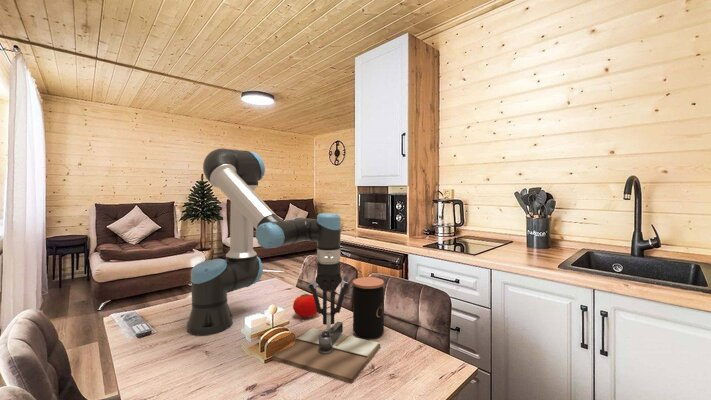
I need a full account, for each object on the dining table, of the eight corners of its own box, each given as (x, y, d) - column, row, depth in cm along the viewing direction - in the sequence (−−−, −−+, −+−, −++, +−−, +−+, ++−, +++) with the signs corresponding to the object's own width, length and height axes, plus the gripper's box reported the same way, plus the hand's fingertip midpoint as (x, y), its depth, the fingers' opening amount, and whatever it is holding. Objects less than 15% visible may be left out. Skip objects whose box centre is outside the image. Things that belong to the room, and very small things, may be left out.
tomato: (323, 316, 124) (323, 295, 124) (299, 323, 119) (298, 300, 118) (312, 309, 132) (312, 289, 132) (289, 314, 126) (289, 293, 126)
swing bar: (328, 351, 94) (328, 336, 93) (316, 349, 95) (316, 334, 95) (345, 332, 106) (345, 319, 106) (334, 331, 107) (334, 317, 107)
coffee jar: (382, 341, 104) (382, 286, 103) (350, 338, 106) (349, 285, 105) (385, 327, 114) (385, 277, 114) (356, 324, 117) (356, 276, 116)
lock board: (272, 359, 93) (272, 353, 93) (310, 331, 111) (310, 326, 111) (351, 383, 82) (351, 376, 82) (380, 347, 100) (380, 342, 100)
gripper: (308, 264, 98) (308, 340, 99) (349, 263, 100) (349, 338, 100) (308, 259, 105) (308, 329, 106) (347, 258, 107) (347, 327, 108)
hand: (328, 333), depth 103 cm, fingers closed
